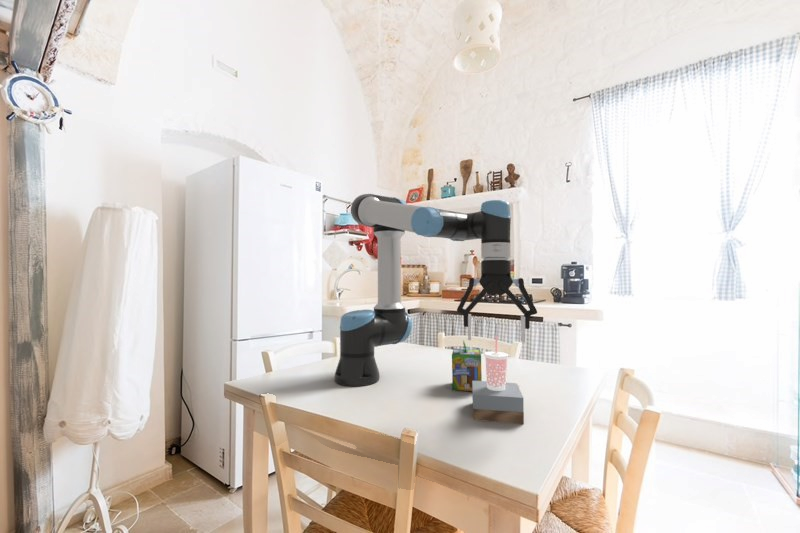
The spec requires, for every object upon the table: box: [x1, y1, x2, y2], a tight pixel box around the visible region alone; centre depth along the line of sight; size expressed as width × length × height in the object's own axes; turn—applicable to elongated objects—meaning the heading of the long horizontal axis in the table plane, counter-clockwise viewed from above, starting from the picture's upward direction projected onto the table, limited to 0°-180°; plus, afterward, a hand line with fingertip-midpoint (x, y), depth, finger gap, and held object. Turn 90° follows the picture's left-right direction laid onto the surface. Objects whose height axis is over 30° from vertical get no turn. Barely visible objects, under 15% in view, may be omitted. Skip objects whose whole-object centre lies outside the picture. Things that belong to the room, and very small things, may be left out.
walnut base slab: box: [472, 408, 525, 425], centre depth 94 cm, size 12×12×4 cm
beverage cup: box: [484, 334, 509, 391], centre depth 94 cm, size 6×6×14 cm
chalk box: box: [451, 340, 483, 392], centre depth 115 cm, size 9×9×15 cm
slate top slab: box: [471, 380, 525, 412], centre depth 94 cm, size 12×12×4 cm
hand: (495, 340), depth 94 cm, fingers open, 13 cm apart
